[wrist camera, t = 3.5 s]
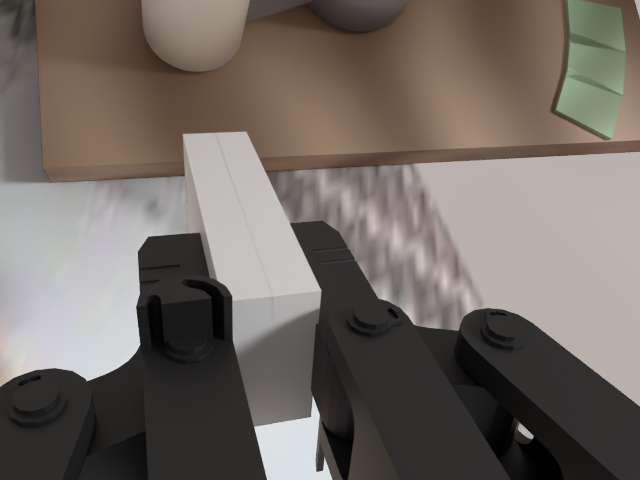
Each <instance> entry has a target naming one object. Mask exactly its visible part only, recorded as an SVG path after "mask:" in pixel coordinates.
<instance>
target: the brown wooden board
mask: <svg viewBox="0 0 640 480" xmlns="http://www.w3.org/2000/svg"><path fill="white" fill-rule="evenodd" d="M35 9H36V31H37V53H38V75H39V96H40V118H41V140H42V162H43V169H44V171H45V173H46V174H47V176H48V178H49V180H50V182H68V181H87V180H106V179H125V178H145V177H164V176H183V175H185V168H184V149H183V134H197V133H222V132H247V134H248V136H249V138H250V140H251V143H252V145H253V147H254V149H255V151H256V153H257V155H258V157H259V160H260V162H261V164H262V166H263V168H264V170H265V171H279V170H298V169H317V168H336V167H355V166H374V165H394V164H413V163H430V162H431V163H432V162H451V161H469V160H489V159H509V158H527V157H546V156H566V155H585V154H604V153H621V152H622V153H623V152H640V19H639V15H638V12H637V9H636V4H635V1H634V0H410V1H409V3H408V4H407V6H406V8H405V9H404V11H403V12H402V14H401V15H400V16H399V17H398V18H397V19H396V20H395V21H394V22H392V23H391V24H389V25H388V26H386V27H383V28H381V29H378V30H374V31H367V32H358V31H350V30H346V29H342V28H339V27H337V26H334V25H332V24H330V23H328V22H326V21H325V20H323V19H322V18H320V17H319V16H318V15H316V14H315V13H314V12H313V11H312V10H311V9H310V8H309V7H308V6H307V5H306V4H303V5H300V6H296V7H293V8H290V9H287V10H284V11H281V12H278V13H275V14H272V15H269V16H266V17H263V18H260V19H257V20H254V21H251V22H248V23H245V26H244V31H243V35H242V40H241V44H240V47H239V49H238V51H237V52H236V54H235V55H234V56H233V58H232V59H231V60H230V61H228V62H227V63H226V64H224V65H222V66H221V67H218V68H216V69H213V70H210V71H203V72H193V71H186V70H182V69H179V68H176V67H174V66H172V65H170V64H168V63H166V62H165V61H163V60H162V59H161V58H159V57H158V56H157V55H156V54H155V53H154V51H153V50H152V49H151V47H150V46H149V44H148V42H147V40H146V37H145V34H144V30H143V18H142V3H141V0H35Z"/></svg>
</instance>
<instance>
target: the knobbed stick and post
mask: <svg viewBox="0 0 640 480" xmlns="http://www.w3.org/2000/svg"><path fill="white" fill-rule="evenodd" d="M409 1H410V0H141V3H142V18H143V30H144V34H145V37H146V40H147V42H148V44H149V46H150V47H151V49H152V50H153V51H154V53H155V54H156V55H157V56H158V57H159V58H161V59H162V60H163V61H165V62H166V63H168V64H170V65H172V66H174V67H176V68H179V69H182V70H186V71H193V72H203V71H210V70H213V69H216V68H218V67H221V66H222V65H224V64H226V63H227V62H228V61H230V60H231V59H232V58H233V56H234V55H235V54H236V52H237V51H238V49H239V47H240V44H241V40H242V35H243V31H244V26H245V23H248V22H251V21H254V20H257V19H260V18H263V17H266V16H269V15H272V14H275V13H278V12H281V11H284V10H287V9H290V8H293V7H296V6H300V5H303V4H306V5H307V6H308V7H309V8H310V9H311V10H312V11H313V12H314V13H315V14H316V15H318V16H319V17H320V18H322V19H323V20H325V21H326V22H328V23H330V24H332V25H334V26H337V27H339V28H342V29H346V30H350V31H358V32H367V31H374V30H378V29H381V28H383V27H386V26H388V25H389V24H391V23H392V22H394V21H395V20H396V19H397V18H398V17H399V16H400V15H401V14H402V12H403V11H404V9H405V8H406V6H407V4H408V3H409Z"/></svg>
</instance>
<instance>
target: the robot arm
mask: <svg viewBox="0 0 640 480" xmlns="http://www.w3.org/2000/svg"><path fill="white" fill-rule="evenodd" d="M183 149H184V168H185V186H186V205H187V223H188V234H177V235H164V236H152V237H148V238H147V239H146V241H145V242H144V244H143V245H142V247H141V248H140V250H139V251H138V263H139V282H140V296H139V299H138V303H137V306H136V309H137V318H138V327H139V335H140V346H139V348H138V350H137V352H136V353H135V354H134V356H133V357H132V358H131V359H130V360H129V361H128V362H126V363H125V364H124V365H122V366H121V367H119V368H118V369H116V370H114V371H112V372H110V373H107V374H105V375H103V376H100V377H98V378H95V379H92V380H90V381H86V379H85V378H83V377H81V376H80V375H78V374H76V373H75V372H73V371H68V370H62V369H56V368H53V369H44V370H35V371H32V372H29V373H26V374H23V375H21V376H18V377H15V378H13V379H12V380H10V381H9V382H7V383H6V384H4V385H2V386H1V387H0V480H267V478H266V474H265V470H264V466H263V462H262V458H261V454H260V450H259V445H258V441H257V437H256V433H255V429H254V427H255V426H260V425H266V424H272V423H278V422H284V421H290V420H295V419H301V418H307V417H311V409H312V397H314V400H315V402H316V405H317V408H318V411H319V413H320V420H319V430H318V441H317V451H316V470H317V472H318V471H323V465H324V456H325V459H326V462H327V465H328V468H329V471H330V474H331V476H332V479H333V480H640V407H639V406H638V405H637V404H636V403H635V402H633V401H632V400H631V399H629V398H628V397H627V396H626V395H624V394H623V393H622V392H620V391H619V390H618V389H617V388H615V387H614V386H613V385H611V384H610V383H609V382H607V381H606V380H605V379H603V378H602V377H601V376H600V375H598V374H597V373H596V372H594V371H593V370H592V369H591V368H589V367H588V366H587V365H586V364H584V363H583V362H582V361H580V360H579V359H578V358H577V357H575V356H574V355H573V354H571V353H570V352H569V351H567V350H566V349H565V348H564V347H562V346H561V345H560V344H558V343H557V342H556V341H555V340H553V339H552V338H551V337H550V336H548V335H547V334H546V333H544V332H543V331H542V330H541V329H539V328H538V327H537V326H535V325H534V324H533V323H531V322H530V321H528V320H526V319H525V318H523V317H521V316H519V315H518V314H514V313H511V312H508V311H505V310H501V309H490V308H486V309H480V310H474V311H472V312H471V313H469V314H467V315H466V316H464V318H463V320H462V322H461V324H460V328H459V331H454V330H444V329H434V328H426V327H420V326H416V325H413V323H412V322H411V320H410V319H409V317H408V316H407V315H406V314H405V313H404V312H403V311H402V310H401V309H400V308H399V307H397V306H395V305H393V304H392V303H390V302H388V301H385V300H381V299H378V297H377V296H376V294H375V292H374V291H373V289H372V287H371V286H370V284H369V282H368V281H367V279H366V277H365V275H364V274H363V272H362V270H361V269H360V267H359V265H358V264H357V262H356V261H354V257H353V255H352V254H351V252H350V250H349V249H347V245H346V243H345V242H344V240H343V238H342V237H341V235H340V233H339V232H338V231H336V230H335V229H333V228H332V227H331V226H329V225H328V224H326V223H325V222H323V221H313V222H301V223H289V221H288V219H287V217H286V215H285V213H284V210H283V208H282V206H281V204H280V202H279V200H278V198H277V196H276V194H275V191H274V189H273V187H272V185H271V183H270V181H269V179H268V177H267V174H266V172H265V170H264V168H263V166H262V164H261V162H260V160H259V157H258V155H257V153H256V151H255V149H254V147H253V145H252V143H251V140H250V138H249V136H248V134H247V132H222V133H197V134H183ZM519 423H521V424H522V425H523V426H524V427H525V428H526V429H527V430H528V431H529V432H530V433H531V434H532V435H533V436H534V437H533V439H529V438H527V437H526V436H524V435H523V434H522V433H521V432H519V431H518V430H517V429H518V426H519Z"/></svg>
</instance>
